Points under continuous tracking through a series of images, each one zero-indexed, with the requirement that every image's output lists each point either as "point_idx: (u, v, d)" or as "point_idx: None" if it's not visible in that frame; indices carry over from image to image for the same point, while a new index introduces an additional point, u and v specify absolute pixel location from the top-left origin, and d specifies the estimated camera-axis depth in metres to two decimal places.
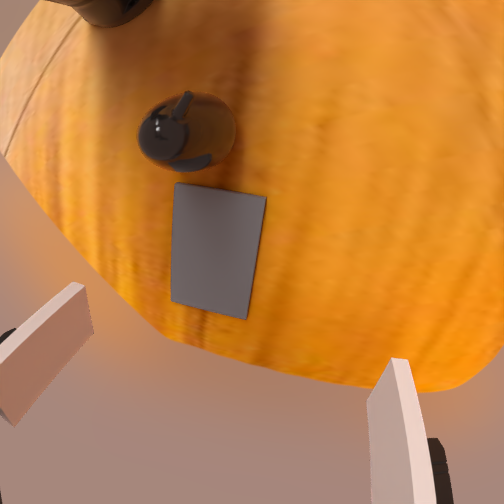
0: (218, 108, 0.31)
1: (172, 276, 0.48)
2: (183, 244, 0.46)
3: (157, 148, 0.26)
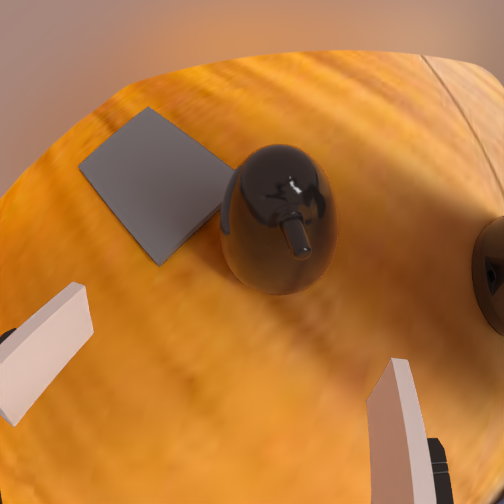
0: (277, 281, 0.23)
1: (165, 120, 0.37)
2: (182, 149, 0.35)
3: (259, 161, 0.17)
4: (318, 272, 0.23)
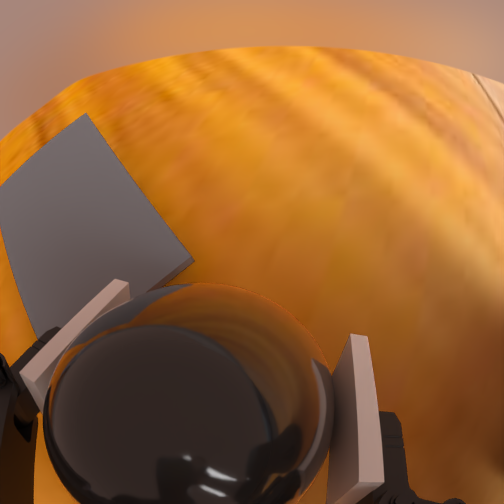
0: None
1: (98, 136, 0.24)
2: (107, 187, 0.22)
3: (62, 424, 0.04)
4: None
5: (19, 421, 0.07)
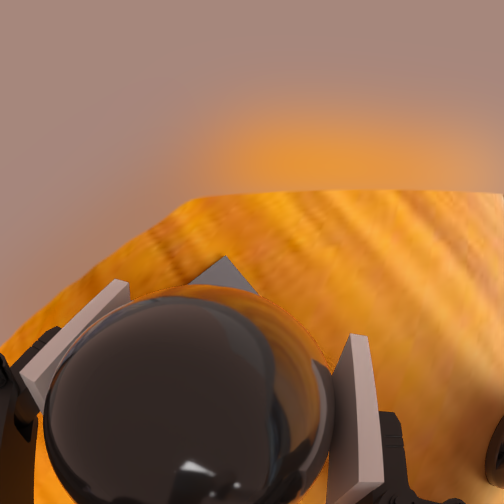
0: None
1: (249, 287, 0.36)
2: None
3: (63, 427, 0.03)
4: None
5: (19, 421, 0.07)
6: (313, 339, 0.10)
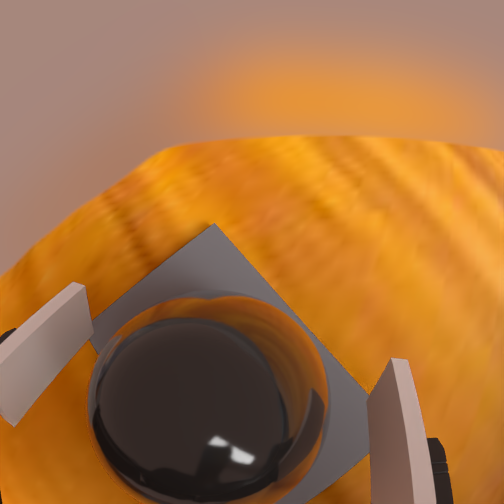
0: None
1: (254, 273, 0.21)
2: None
3: (118, 409, 0.05)
4: None
5: None
6: None
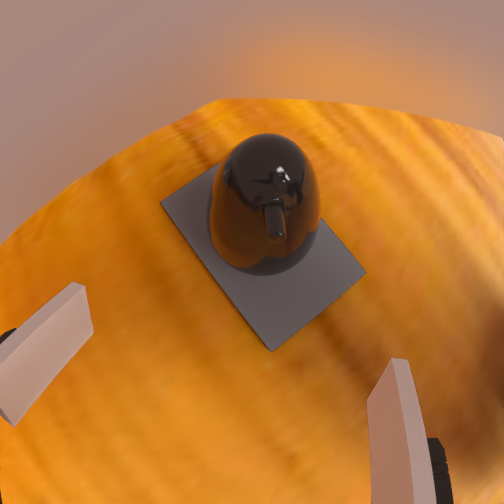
0: (252, 261, 0.24)
1: None
2: None
3: (252, 146, 0.18)
4: (292, 259, 0.25)
5: None
6: None
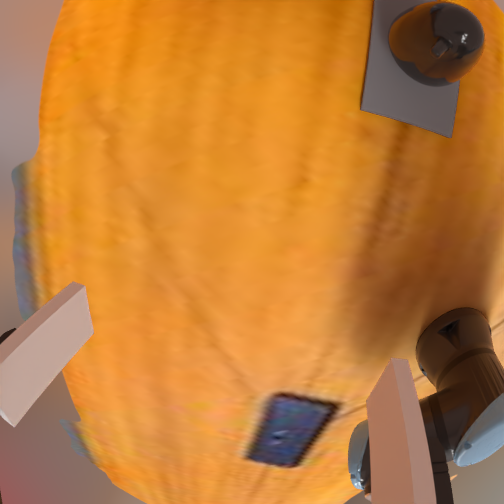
0: (406, 54, 0.24)
1: None
2: None
3: (463, 12, 0.15)
4: (425, 77, 0.25)
5: None
6: None
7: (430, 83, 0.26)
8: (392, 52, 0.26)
